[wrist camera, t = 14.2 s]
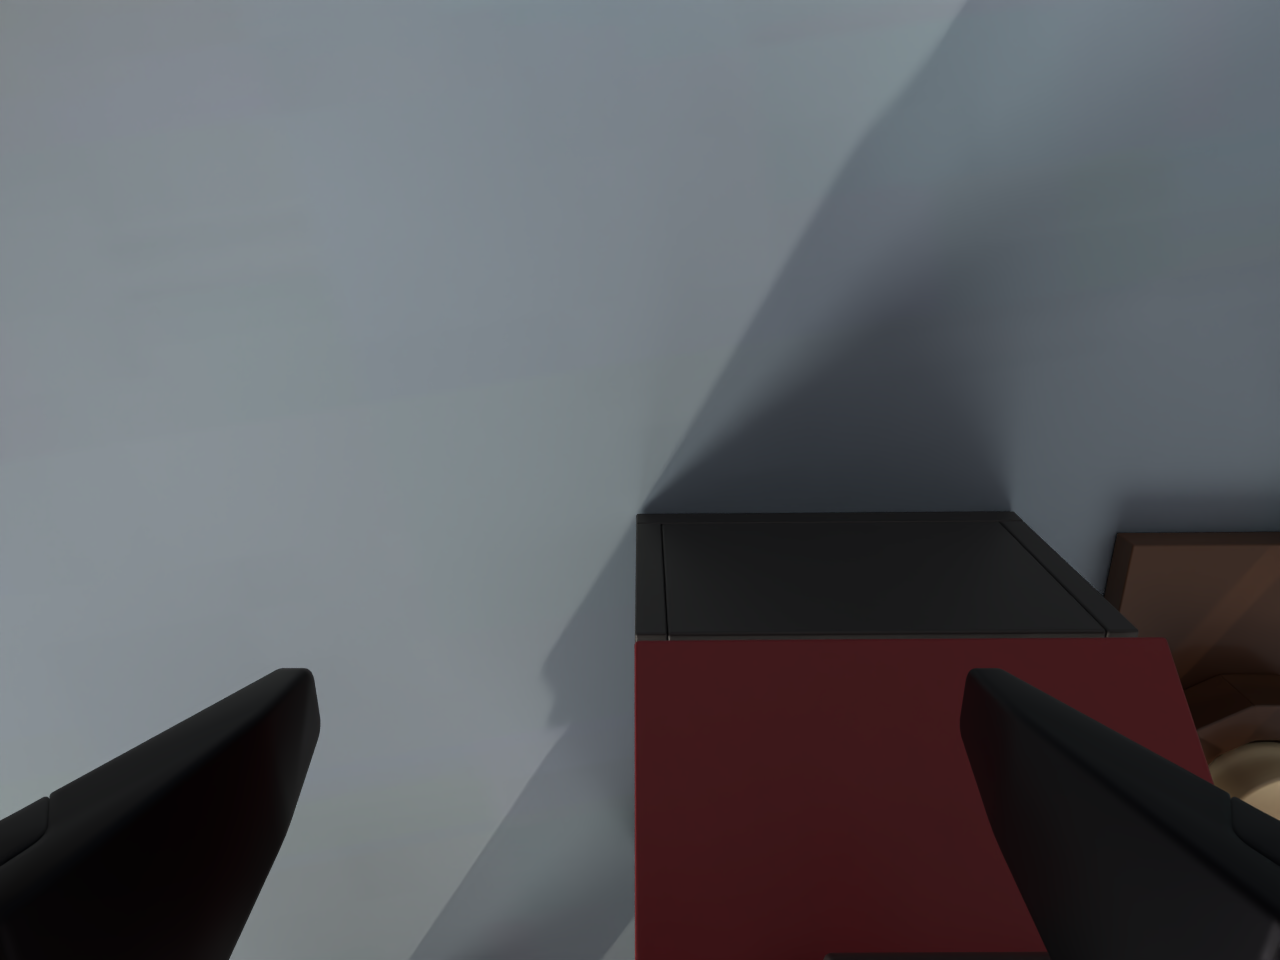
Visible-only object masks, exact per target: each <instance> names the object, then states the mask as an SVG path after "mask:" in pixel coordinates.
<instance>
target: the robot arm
mask: <svg viewBox="0 0 1280 960" xmlns="http://www.w3.org/2000/svg"><path fill="white" fill-rule="evenodd" d="M319 733H320V714H319V708H318V701H317V695H316V688H315V682H314V677H313V675H312V672H311V671H310V670H308V669H306V668H281V669H278V670H276V671H274V672H272V673H270V674H268V675H266V676H265V677H263V678H261V679H259V680H257V681H255V682H254V683H252V684H250V685H248V686H246V687H244V688H243V689H241V690H239V691H237V692H235V693H233V694H232V695H230V696H228V697H226V698H224V699H222V700H221V701H219V702H217V703H215V704H213V705H212V706H210V707H208V708H206V709H204V710H202V711H201V712H199V713H197V714H195V715H193V716H191V717H190V718H188V719H186V720H184V721H182V722H180V723H179V724H177V725H175V726H173V727H171V728H169V729H168V730H166V731H164V732H162V733H160V734H158V735H157V736H155V737H153V738H151V739H149V740H147V741H146V742H144V743H142V744H140V745H138V746H137V747H135V748H133V749H131V750H129V751H127V752H126V753H124V754H122V755H120V756H118V757H116V758H115V759H113V760H111V761H109V762H107V763H105V764H104V765H102V766H100V767H98V768H96V769H94V770H93V771H91V772H89V773H87V774H85V775H83V776H82V777H80V778H78V779H76V780H74V781H72V782H71V783H69V784H67V785H65V786H63V787H62V788H60V789H58V790H56V791H54V792H52V793H51V794H50V799H49V798H48V797H43V798H41V799H39V800H37V801H36V802H34V803H32V804H30V805H28V806H27V807H25V808H23V809H21V810H19V811H17V812H16V813H14V814H12V815H10V816H8V817H6V818H4V819H2V820H0V960H229V958H230V956H231V954H232V952H233V950H234V947H235V945H236V943H237V941H238V939H239V937H240V934H241V932H242V930H243V928H244V926H245V924H246V921H247V919H248V917H249V915H250V913H251V911H252V908H253V906H254V904H255V902H256V900H257V898H258V895H259V893H260V891H261V889H262V887H263V885H264V882H265V880H266V878H267V876H268V874H269V872H270V869H271V867H272V865H273V863H274V861H275V859H276V857H277V854H278V852H279V850H280V848H281V845H282V843H283V841H284V838H285V836H286V833H287V831H288V828H289V825H290V822H291V820H292V817H293V814H294V811H295V808H296V805H297V801H298V798H299V795H300V792H301V789H302V786H303V783H304V780H305V777H306V774H307V771H308V768H309V765H310V762H311V759H312V756H313V753H314V750H315V747H316V744H317V741H318V737H319ZM960 733H961V737H962V741H963V744H964V747H965V750H966V753H967V756H968V759H969V762H970V765H971V768H972V771H973V774H974V777H975V780H976V783H977V786H978V789H979V792H980V795H981V798H982V801H983V804H984V808H985V811H986V814H987V817H988V820H989V822H990V825H991V828H992V831H993V833H994V836H995V838H996V841H997V843H998V845H999V848H1000V850H1001V852H1002V854H1003V856H1004V859H1005V861H1006V863H1007V865H1008V867H1009V869H1010V872H1011V874H1012V876H1013V878H1014V880H1015V882H1016V885H1017V887H1018V889H1019V891H1020V893H1021V895H1022V898H1023V900H1024V902H1025V904H1026V906H1027V908H1028V911H1029V913H1030V915H1031V917H1032V919H1033V921H1034V924H1035V926H1036V928H1037V930H1038V932H1039V934H1040V937H1041V939H1042V941H1043V943H1044V945H1045V947H1046V950H1047V952H1048V954H1049V956H1050V958H1051V960H1280V820H1278V819H1276V818H1274V817H1272V816H1270V815H1268V814H1266V813H1264V812H1263V811H1261V810H1259V809H1257V808H1255V807H1253V806H1252V805H1250V804H1248V803H1246V802H1244V801H1243V800H1241V799H1239V798H1237V797H1232V798H1231V799H1230V794H1229V793H1228V792H1226V791H1224V790H1222V789H1220V788H1219V787H1217V786H1215V785H1213V784H1211V783H1209V782H1208V781H1206V780H1204V779H1202V778H1200V777H1198V776H1197V775H1195V774H1193V773H1191V772H1189V771H1187V770H1186V769H1184V768H1182V767H1180V766H1178V765H1176V764H1175V763H1173V762H1171V761H1169V760H1167V759H1165V758H1164V757H1162V756H1160V755H1158V754H1156V753H1154V752H1153V751H1151V750H1149V749H1147V748H1145V747H1143V746H1142V745H1140V744H1138V743H1136V742H1134V741H1133V740H1131V739H1129V738H1127V737H1125V736H1123V735H1122V734H1120V733H1118V732H1116V731H1114V730H1112V729H1111V728H1109V727H1107V726H1105V725H1103V724H1101V723H1100V722H1098V721H1096V720H1094V719H1092V718H1090V717H1089V716H1087V715H1085V714H1083V713H1081V712H1079V711H1078V710H1076V709H1074V708H1072V707H1070V706H1068V705H1067V704H1065V703H1063V702H1061V701H1059V700H1057V699H1056V698H1054V697H1052V696H1050V695H1048V694H1047V693H1045V692H1043V691H1041V690H1039V689H1037V688H1036V687H1034V686H1032V685H1030V684H1028V683H1026V682H1025V681H1023V680H1021V679H1019V678H1017V677H1015V676H1014V675H1012V674H1010V673H1008V672H1006V671H1004V670H1002V669H999V668H974V669H972V670H970V671H969V672H968V675H967V677H966V682H965V688H964V695H963V701H962V708H961V714H960Z"/></svg>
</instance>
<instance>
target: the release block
mask: <svg viewBox="0 0 1280 960" xmlns="http://www.w3.org/2000/svg"><path fill="white" fill-rule="evenodd" d="M1104 598H1105V599H1106V600H1107V601H1108V602H1109V603H1110V604H1111V605H1112V606H1114V607H1115V608H1116V609H1117V610H1118V611H1119V612H1120V613H1121V614H1122V615H1123V616H1124V617H1125V618H1126V619H1127V620H1128V621H1129V622H1130V623H1132V624H1133V625H1134V626H1135V627H1136V628H1137V629H1138V631H1139V633H1138V637H1163V638H1166V640H1167V642H1168V645H1169V648H1170V651H1171V654H1172V657H1173V660H1174V663H1175V666H1176V669H1177V672H1178V675H1179V678H1180V681H1181V685H1182V688H1183V691H1184V694H1185V697H1186V700H1187V703H1188V706H1189V709H1190V712H1191V715H1192V718H1193V721H1194V724H1195V727H1196V730H1197V733H1198V737H1199V740H1200V743H1201V746H1202V749H1203V752H1204V755H1205V758H1206V761H1207V764H1208V765H1209V764H1210V763H1211V762H1212V761H1213V760H1214V759H1215V758H1216V757H1217V756H1219V755H1222V754H1224V753H1226V752H1229V751H1231V750H1233V749H1236V748H1238V747H1240V746H1243V745H1245V744H1247V743H1253V742H1264V741H1266V742H1277V743H1280V532H1186V533H1118V534H1117V537H1116V542H1115V547H1114V552H1113V557H1112V562H1111V567H1110V571H1109V576H1108V581H1107V586H1106V591H1105V596H1104Z"/></svg>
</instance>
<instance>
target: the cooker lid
mask: <svg viewBox="0 0 1280 960" xmlns="http://www.w3.org/2000/svg"><path fill="white" fill-rule="evenodd" d="M974 668H999V669H1002V670H1004V671H1006V672H1008V673H1010V674H1012V675H1014V676H1015V677H1017V678H1019V679H1021V680H1023V681H1025V682H1026V683H1028V684H1030V685H1032V686H1034V687H1036V688H1037V689H1039V690H1041V691H1043V692H1045V693H1047V694H1048V695H1050V696H1052V697H1054V698H1056V699H1057V700H1059V701H1061V702H1063V703H1065V704H1067V705H1068V706H1070V707H1072V708H1074V709H1076V710H1078V711H1079V712H1081V713H1083V714H1085V715H1087V716H1089V717H1090V718H1092V719H1094V720H1096V721H1098V722H1100V723H1101V724H1103V725H1105V726H1107V727H1109V728H1111V729H1112V730H1114V731H1116V732H1118V733H1120V734H1122V735H1123V736H1125V737H1127V738H1129V739H1131V740H1133V741H1134V742H1136V743H1138V744H1140V745H1142V746H1143V747H1145V748H1147V749H1149V750H1151V751H1153V752H1154V753H1156V754H1158V755H1160V756H1162V757H1164V758H1165V759H1167V760H1169V761H1171V762H1173V763H1175V764H1176V765H1178V766H1180V767H1182V768H1184V769H1186V770H1187V771H1189V772H1191V773H1193V774H1195V775H1197V776H1198V777H1200V778H1202V779H1204V780H1206V781H1208V782H1209V783H1211V784H1213V785H1214V782H1213V779H1212V776H1211V773H1210V770H1209V767H1208V764H1207V761H1206V758H1205V755H1204V752H1203V749H1202V746H1201V743H1200V740H1199V737H1198V733H1197V730H1196V727H1195V724H1194V721H1193V718H1192V715H1191V712H1190V709H1189V706H1188V703H1187V700H1186V697H1185V694H1184V691H1183V688H1182V685H1181V681H1180V678H1179V675H1178V672H1177V669H1176V666H1175V663H1174V660H1173V657H1172V654H1171V651H1170V648H1169V645H1168V642H1167V640H1166V638H1163V637H1112V638H959V639H806V640H652V641H637V642H636V643H635V960H1051V958H1050V956H1049V954H1048V952H1047V950H1046V947H1045V945H1044V943H1043V941H1042V939H1041V937H1040V934H1039V932H1038V930H1037V928H1036V926H1035V924H1034V921H1033V919H1032V917H1031V915H1030V913H1029V911H1028V908H1027V906H1026V904H1025V902H1024V900H1023V898H1022V895H1021V893H1020V891H1019V889H1018V887H1017V885H1016V882H1015V880H1014V878H1013V876H1012V874H1011V872H1010V869H1009V867H1008V865H1007V863H1006V861H1005V859H1004V856H1003V854H1002V852H1001V850H1000V848H999V845H998V843H997V841H996V838H995V836H994V833H993V831H992V828H991V825H990V822H989V820H988V817H987V814H986V811H985V808H984V804H983V801H982V798H981V795H980V792H979V789H978V786H977V783H976V780H975V777H974V774H973V771H972V768H971V765H970V762H969V759H968V756H967V753H966V750H965V747H964V744H963V741H962V737H961V733H960V714H961V708H962V701H963V695H964V688H965V682H966V677H967V675H968V672H969V671H970V670H972V669H974Z"/></svg>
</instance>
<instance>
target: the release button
mask: <svg viewBox="0 0 1280 960" xmlns="http://www.w3.org/2000/svg"><path fill="white" fill-rule="evenodd" d="M1208 767H1209V770H1210V773H1211V776H1212V779H1213V782H1214V785H1215V786H1217V787H1219V788H1220V789H1222V790H1224V791H1226V792H1228V793H1229V794H1230V799H1231V798H1232V797H1237V798H1239V799H1241V800H1243V801H1244V802H1246V803H1248V804H1250V805H1252V806H1253V807H1255V808H1257V809H1259V810H1261V811H1263V812H1264V813H1266V814H1268V815H1270V816H1272V817H1274V818H1276V819H1278V820H1280V743H1277V742H1266V741H1264V742H1253V743H1247V744H1245V745H1243V746H1240V747H1238V748H1236V749H1233V750H1231V751H1229V752H1226V753H1224V754H1222V755H1219V756H1217V757H1216V758H1215V759H1214V760H1213V761H1212V762H1211V763H1210V764H1209V765H1208Z"/></svg>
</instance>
